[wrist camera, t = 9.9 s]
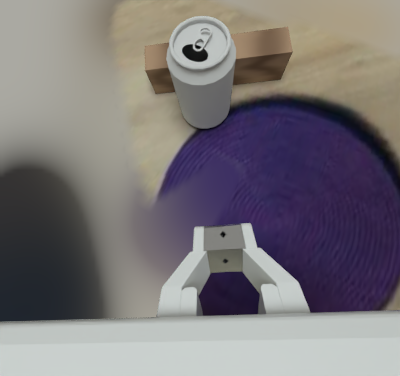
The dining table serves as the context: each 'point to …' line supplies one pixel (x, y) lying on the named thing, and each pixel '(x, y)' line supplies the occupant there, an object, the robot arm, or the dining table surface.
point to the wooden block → (244, 65)
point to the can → (202, 69)
